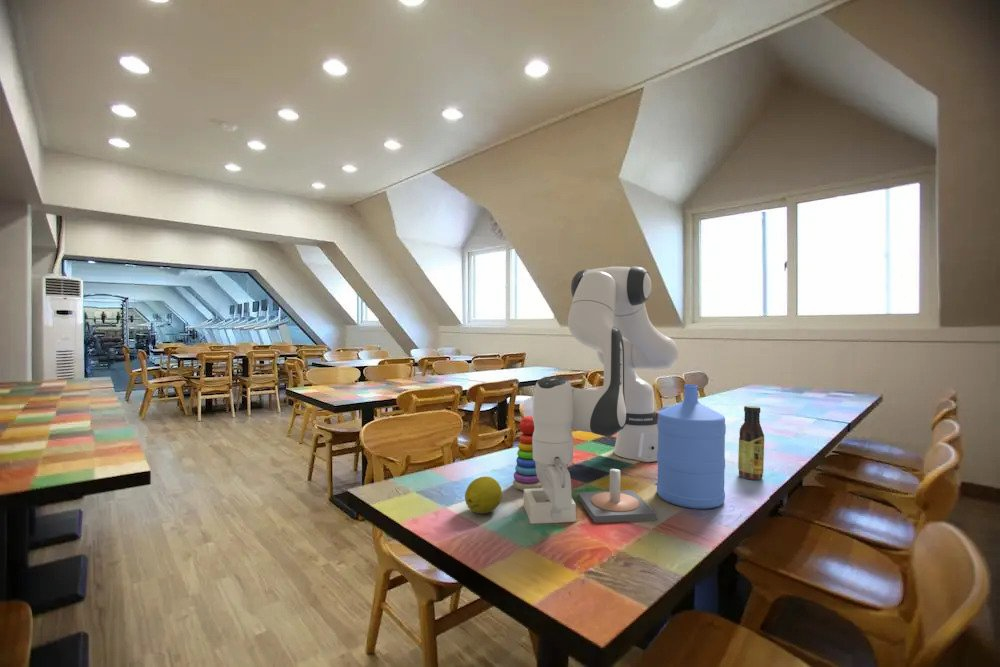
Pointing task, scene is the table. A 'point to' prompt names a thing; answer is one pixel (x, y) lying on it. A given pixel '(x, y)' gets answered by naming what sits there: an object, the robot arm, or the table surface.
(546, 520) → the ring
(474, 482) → the lemon
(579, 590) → the table surface
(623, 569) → the table surface
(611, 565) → the table surface
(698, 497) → the water jug
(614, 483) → the rod stand
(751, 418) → the sauce bottle
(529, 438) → the stacking toy
